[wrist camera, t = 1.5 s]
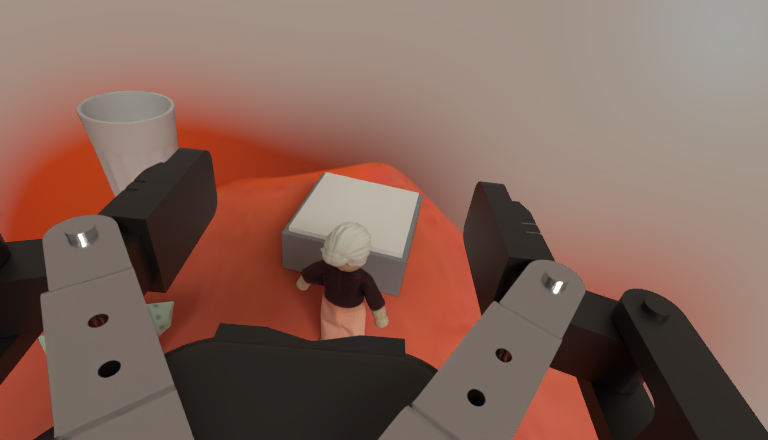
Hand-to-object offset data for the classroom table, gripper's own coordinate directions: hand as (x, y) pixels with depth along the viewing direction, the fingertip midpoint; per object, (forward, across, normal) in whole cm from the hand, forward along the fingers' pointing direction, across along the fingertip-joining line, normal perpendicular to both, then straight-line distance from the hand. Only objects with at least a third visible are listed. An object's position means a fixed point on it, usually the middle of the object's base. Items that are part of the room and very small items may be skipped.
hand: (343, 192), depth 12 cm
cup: (+27, +22, +22) cm, 41 cm away
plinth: (+24, 0, +22) cm, 33 cm away
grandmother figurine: (+11, 0, +22) cm, 25 cm away
